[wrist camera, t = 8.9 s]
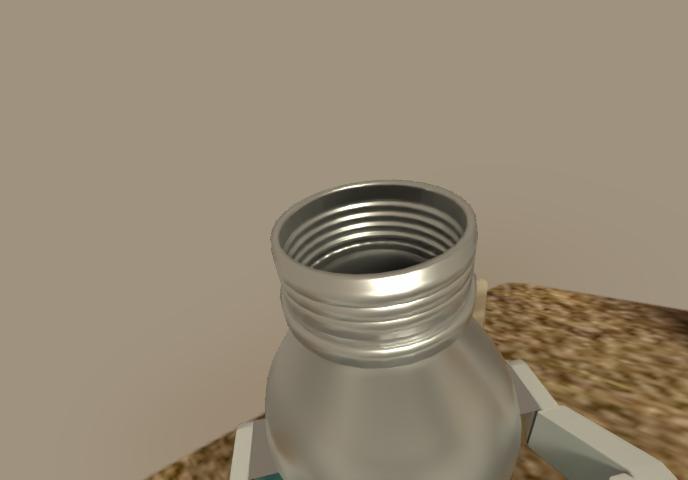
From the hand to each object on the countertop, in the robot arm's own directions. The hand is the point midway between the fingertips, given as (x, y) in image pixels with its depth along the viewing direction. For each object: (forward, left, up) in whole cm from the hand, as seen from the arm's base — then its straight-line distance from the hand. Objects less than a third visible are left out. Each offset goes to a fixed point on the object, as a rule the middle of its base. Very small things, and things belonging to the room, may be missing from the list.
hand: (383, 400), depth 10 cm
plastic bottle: (0, +1, -13) cm, 13 cm away
